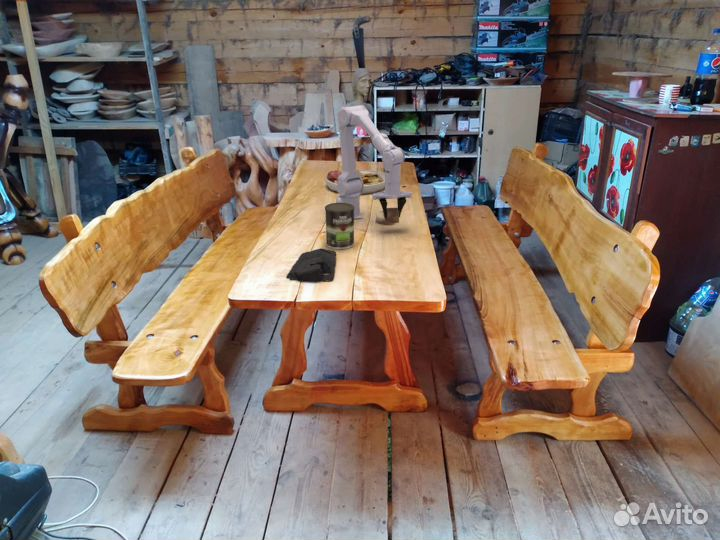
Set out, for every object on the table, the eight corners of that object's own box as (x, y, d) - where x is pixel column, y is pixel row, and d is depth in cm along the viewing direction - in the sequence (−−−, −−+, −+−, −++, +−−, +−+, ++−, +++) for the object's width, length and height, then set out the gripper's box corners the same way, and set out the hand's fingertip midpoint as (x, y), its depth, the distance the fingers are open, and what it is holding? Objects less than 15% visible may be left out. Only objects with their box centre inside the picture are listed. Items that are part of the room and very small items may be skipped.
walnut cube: (387, 223, 207) (387, 211, 205) (384, 219, 211) (385, 208, 209) (399, 222, 207) (399, 211, 205) (396, 218, 211) (396, 207, 209)
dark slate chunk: (343, 257, 189) (343, 244, 187) (332, 285, 169) (331, 270, 167) (299, 255, 191) (299, 242, 189) (283, 282, 171) (282, 268, 169)
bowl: (387, 179, 280) (387, 163, 277) (388, 196, 253) (389, 179, 250) (328, 179, 281) (327, 163, 278) (323, 196, 254) (323, 179, 250)
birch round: (377, 225, 217) (377, 217, 215) (374, 219, 224) (374, 210, 222) (397, 225, 217) (398, 216, 216) (394, 218, 225) (394, 210, 223)
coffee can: (357, 247, 196) (357, 209, 190) (329, 250, 193) (328, 212, 187) (350, 237, 205) (350, 201, 199) (323, 240, 202) (322, 203, 196)
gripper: (375, 185, 198) (374, 221, 204) (414, 183, 200) (413, 219, 206) (371, 180, 204) (371, 215, 210) (410, 178, 206) (408, 213, 212)
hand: (391, 216), depth 208 cm, fingers closed on walnut cube, 4 cm apart
